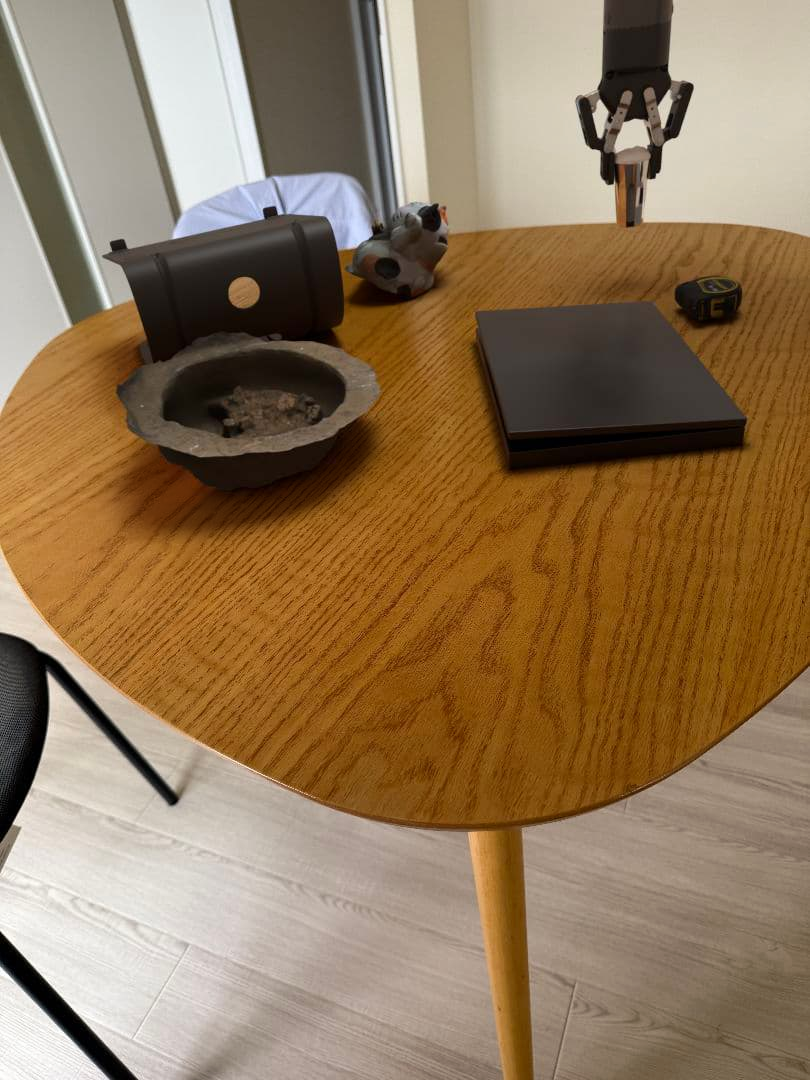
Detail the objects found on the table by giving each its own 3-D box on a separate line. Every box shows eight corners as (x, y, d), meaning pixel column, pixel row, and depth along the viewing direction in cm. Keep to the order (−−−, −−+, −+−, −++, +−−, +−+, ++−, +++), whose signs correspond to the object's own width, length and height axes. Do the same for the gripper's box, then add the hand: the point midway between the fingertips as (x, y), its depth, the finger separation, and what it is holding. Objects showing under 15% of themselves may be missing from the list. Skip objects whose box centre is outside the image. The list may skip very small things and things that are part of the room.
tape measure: (671, 308, 97) (673, 278, 95) (725, 301, 97) (730, 271, 95) (690, 328, 92) (693, 297, 89) (748, 321, 91) (753, 289, 89)
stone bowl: (112, 441, 84) (88, 358, 79) (324, 388, 93) (315, 310, 88) (174, 550, 65) (148, 451, 60) (430, 469, 75) (427, 378, 70)
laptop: (509, 470, 71) (508, 452, 70) (476, 342, 95) (475, 327, 94) (742, 445, 70) (745, 426, 69) (649, 322, 94) (650, 307, 93)
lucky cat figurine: (370, 270, 122) (403, 179, 115) (437, 304, 120) (474, 214, 114) (329, 274, 108) (365, 172, 102) (404, 312, 107) (445, 210, 100)
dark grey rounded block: (158, 405, 91) (114, 271, 81) (130, 341, 108) (91, 225, 99) (361, 349, 97) (342, 220, 88) (303, 297, 115) (282, 185, 106)
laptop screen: (508, 441, 69) (509, 432, 69) (475, 318, 93) (475, 310, 93) (745, 427, 69) (747, 418, 69) (650, 308, 93) (651, 300, 93)
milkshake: (620, 217, 105) (621, 135, 99) (655, 220, 101) (658, 136, 95) (599, 227, 102) (599, 143, 97) (634, 231, 99) (637, 145, 93)
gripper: (690, 10, 91) (677, 167, 101) (567, 27, 92) (567, 182, 102) (712, 12, 85) (696, 179, 95) (580, 31, 86) (579, 195, 96)
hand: (629, 180), depth 99 cm, fingers closed on milkshake, 4 cm apart
